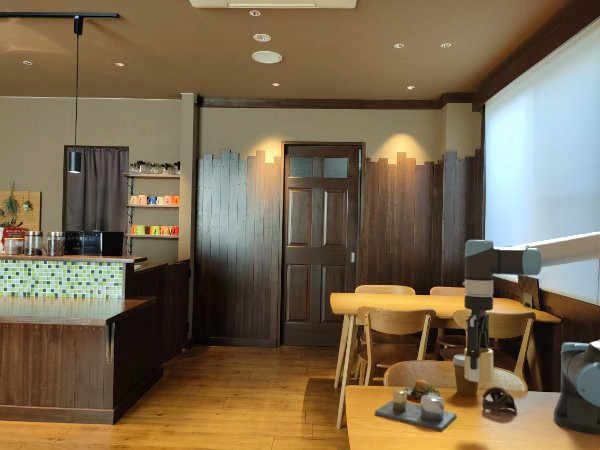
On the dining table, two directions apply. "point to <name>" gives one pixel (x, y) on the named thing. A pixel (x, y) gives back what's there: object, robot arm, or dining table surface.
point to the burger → (420, 390)
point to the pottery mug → (498, 399)
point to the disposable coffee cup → (463, 378)
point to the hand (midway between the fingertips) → (478, 377)
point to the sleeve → (482, 365)
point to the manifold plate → (417, 411)
